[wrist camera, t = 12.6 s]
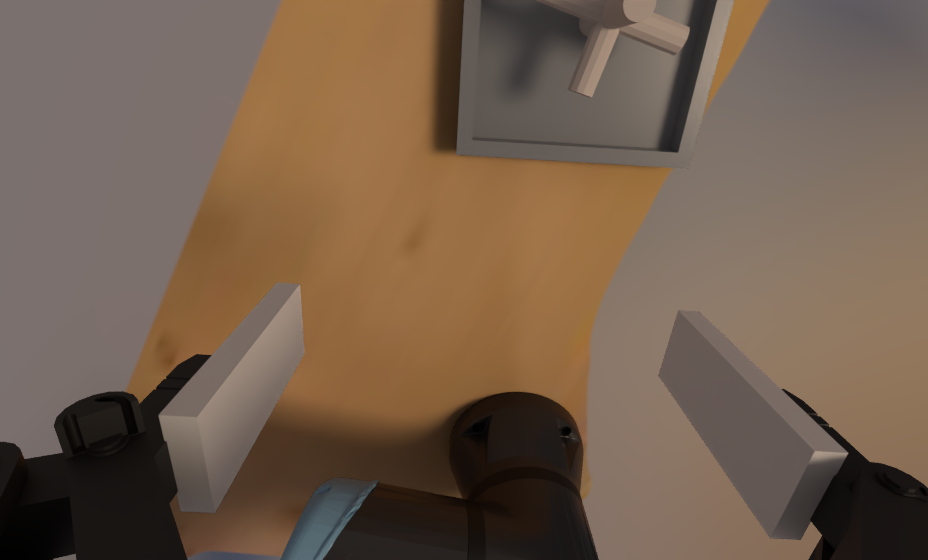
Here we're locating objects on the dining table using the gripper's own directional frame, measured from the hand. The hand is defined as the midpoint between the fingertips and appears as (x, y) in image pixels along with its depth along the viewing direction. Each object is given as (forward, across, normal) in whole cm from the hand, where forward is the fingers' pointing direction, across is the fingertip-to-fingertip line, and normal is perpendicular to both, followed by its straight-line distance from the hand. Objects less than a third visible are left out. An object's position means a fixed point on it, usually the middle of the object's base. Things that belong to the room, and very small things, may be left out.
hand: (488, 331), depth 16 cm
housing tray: (+26, -8, -13) cm, 30 cm away
